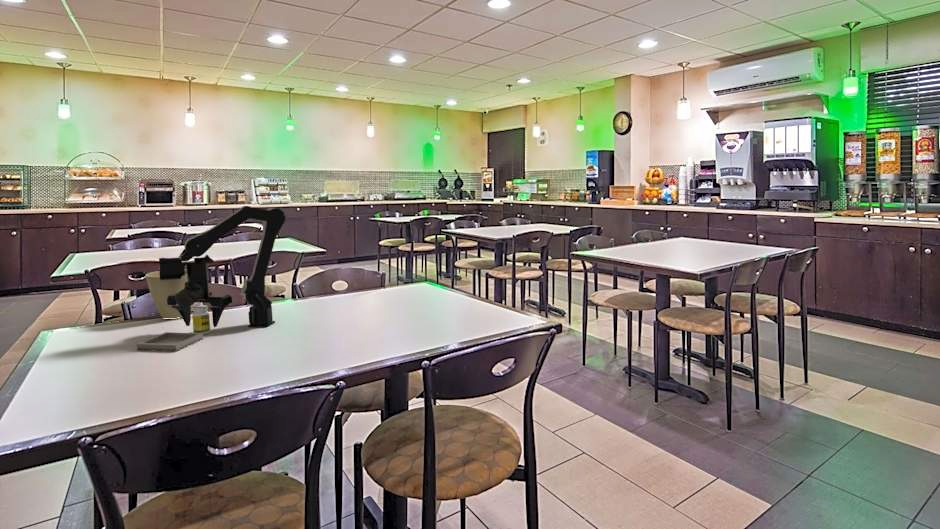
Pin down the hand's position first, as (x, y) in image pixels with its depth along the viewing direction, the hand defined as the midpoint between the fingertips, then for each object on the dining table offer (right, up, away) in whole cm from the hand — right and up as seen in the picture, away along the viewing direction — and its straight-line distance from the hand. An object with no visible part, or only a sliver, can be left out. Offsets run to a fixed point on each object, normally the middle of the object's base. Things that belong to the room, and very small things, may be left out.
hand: (201, 326), depth 168 cm
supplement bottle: (0, -2, 0) cm, 2 cm away
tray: (-3, -4, -12) cm, 13 cm away
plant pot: (-20, +1, +20) cm, 28 cm away
